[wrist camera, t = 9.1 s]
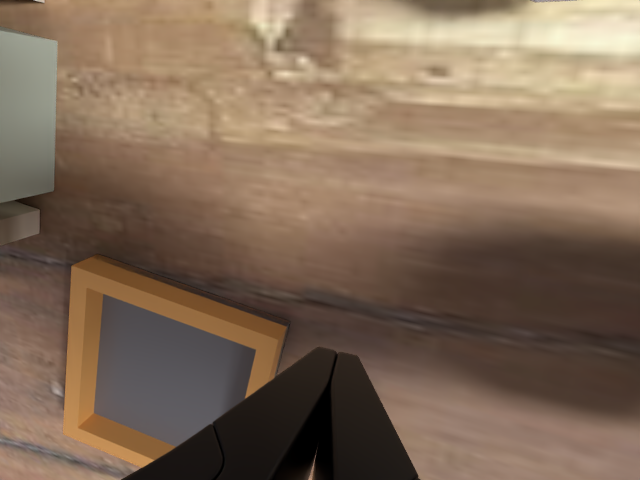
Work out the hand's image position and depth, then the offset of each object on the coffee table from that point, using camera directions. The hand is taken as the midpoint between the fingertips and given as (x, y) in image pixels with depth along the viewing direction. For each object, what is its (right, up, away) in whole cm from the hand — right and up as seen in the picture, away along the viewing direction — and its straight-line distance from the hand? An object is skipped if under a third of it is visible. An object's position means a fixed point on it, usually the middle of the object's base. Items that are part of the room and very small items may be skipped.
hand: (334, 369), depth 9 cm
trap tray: (-9, -5, +17) cm, 20 cm away
